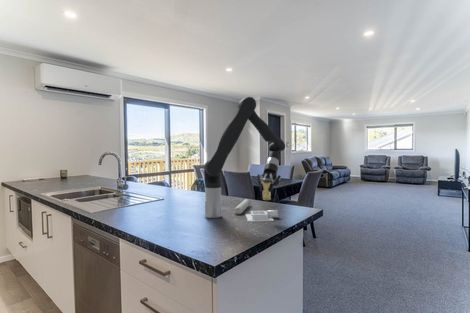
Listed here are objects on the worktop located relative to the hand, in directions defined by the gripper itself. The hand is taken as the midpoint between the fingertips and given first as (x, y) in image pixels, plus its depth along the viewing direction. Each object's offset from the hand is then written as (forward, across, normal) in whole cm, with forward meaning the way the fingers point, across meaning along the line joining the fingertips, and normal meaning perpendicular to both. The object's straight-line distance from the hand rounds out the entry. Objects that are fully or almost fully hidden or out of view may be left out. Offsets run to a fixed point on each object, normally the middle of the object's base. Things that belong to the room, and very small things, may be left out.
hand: (265, 190), depth 142 cm
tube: (-2, -21, +26) cm, 34 cm away
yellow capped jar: (+2, 0, +5) cm, 6 cm away
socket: (+8, -4, +16) cm, 18 cm away
